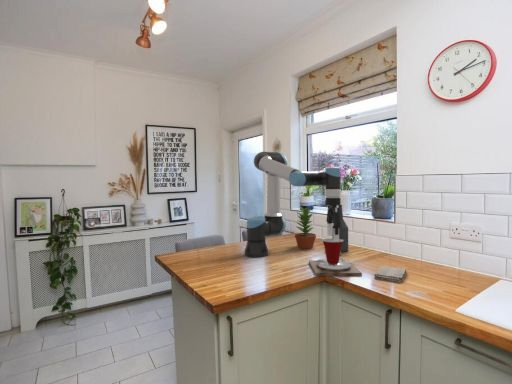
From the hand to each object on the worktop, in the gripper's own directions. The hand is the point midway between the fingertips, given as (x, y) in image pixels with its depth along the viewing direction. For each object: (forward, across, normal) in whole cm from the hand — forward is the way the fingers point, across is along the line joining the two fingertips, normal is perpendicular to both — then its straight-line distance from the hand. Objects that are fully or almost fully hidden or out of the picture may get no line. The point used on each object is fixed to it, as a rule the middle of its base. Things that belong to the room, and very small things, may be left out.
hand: (333, 238), depth 149 cm
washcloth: (+17, -10, -25) cm, 32 cm away
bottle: (+16, +41, -14) cm, 46 cm away
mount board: (+16, 0, 0) cm, 16 cm away
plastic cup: (+13, +1, 0) cm, 13 cm away
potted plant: (+16, +49, +8) cm, 52 cm away
